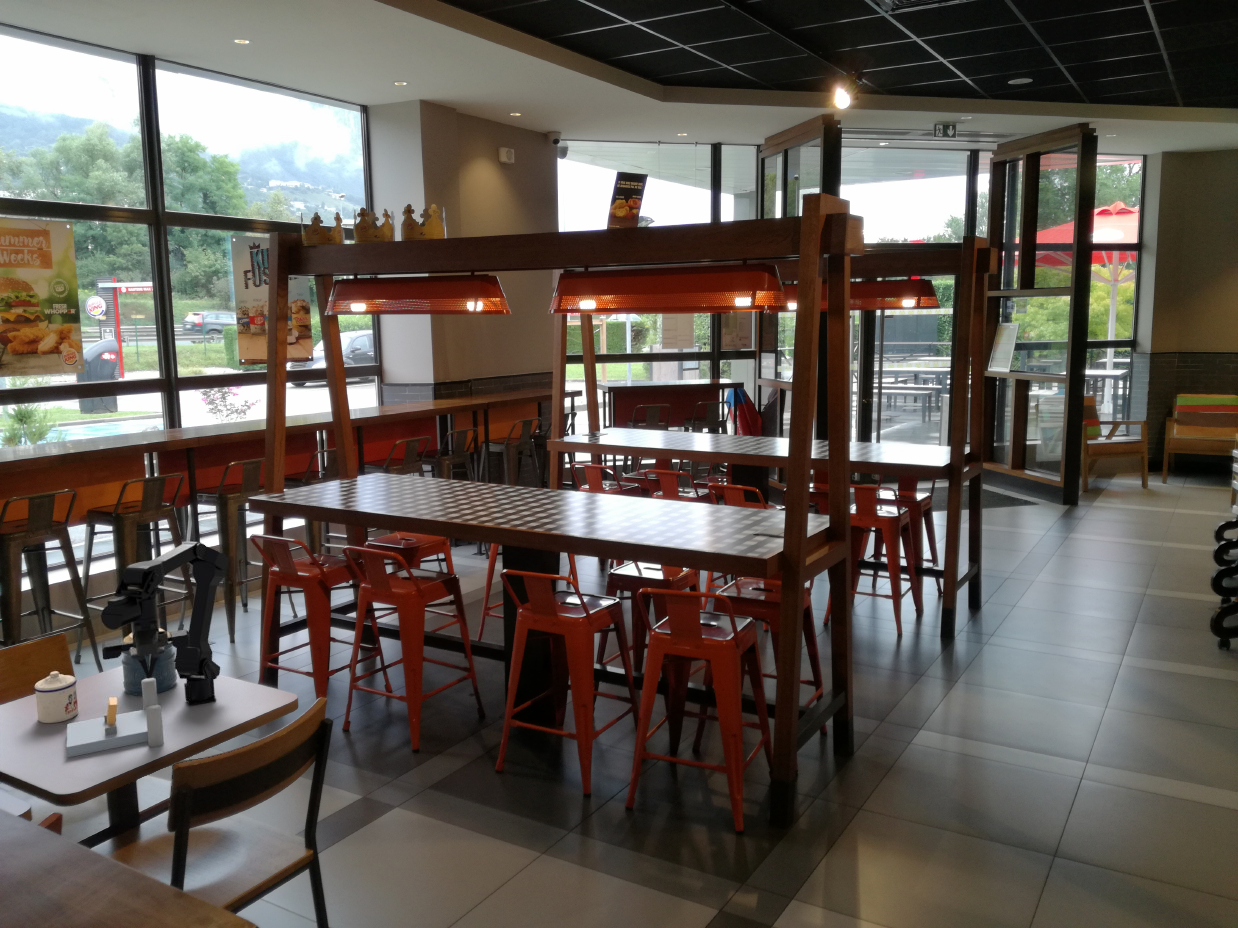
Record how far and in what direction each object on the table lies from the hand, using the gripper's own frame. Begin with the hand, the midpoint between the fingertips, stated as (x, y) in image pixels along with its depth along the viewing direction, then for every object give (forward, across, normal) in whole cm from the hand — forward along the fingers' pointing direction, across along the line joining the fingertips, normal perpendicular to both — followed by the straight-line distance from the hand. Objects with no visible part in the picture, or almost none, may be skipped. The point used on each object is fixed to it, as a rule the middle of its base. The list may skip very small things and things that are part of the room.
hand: (149, 677), depth 221 cm
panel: (+13, -9, 0) cm, 16 cm away
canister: (+13, +1, +29) cm, 32 cm away
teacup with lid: (+13, -20, +21) cm, 32 cm away
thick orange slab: (+10, -9, 0) cm, 13 cm away
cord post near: (+13, 0, -10) cm, 16 cm away
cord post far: (+13, 0, +10) cm, 16 cm away
